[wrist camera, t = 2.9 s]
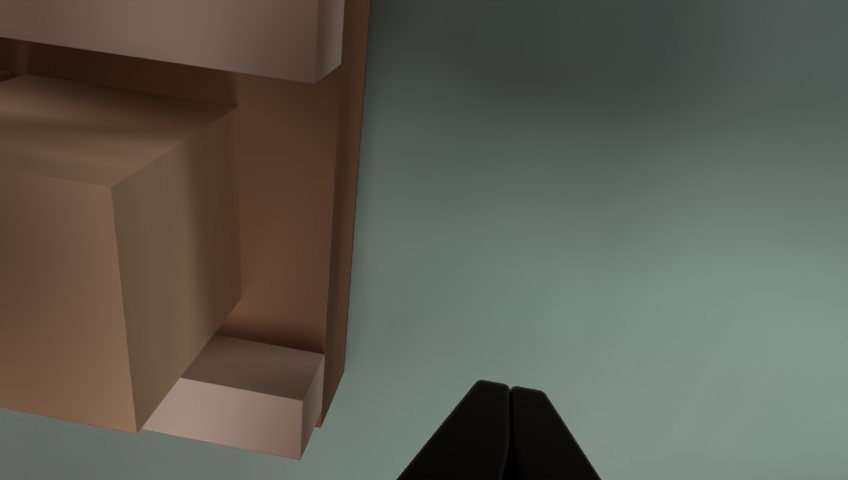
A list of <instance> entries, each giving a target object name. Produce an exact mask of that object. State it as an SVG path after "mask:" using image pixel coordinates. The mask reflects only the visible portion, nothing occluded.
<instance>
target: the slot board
mask: <svg viewBox="0 0 848 480" xmlns="http://www.w3.org/2000/svg"><path fill="white" fill-rule="evenodd" d="M369 12H370V0H0V70H3V71H9V72H12V77H13V78H15V77H19V76H22V75H25V74H30V75H36V76H43V77H50V78H56V79H63V80H69V81H76V82H82V83H89V84H95V85H102V86H108V87H115V88H121V89H128V90H134V91H141V92H147V93H154V94H160V95H167V96H173V97H180V98H186V99H193V100H199V101H206V102H212V103H219V104H226V105H232V106H238V114H239V192H240V269H241V299H240V301H239V302H238V303H237V304H236V306H235V307H234V308H233V310H232V311H231V312H230V314H229V315H228V316H227V317H226V319H225V320H224V321H223V323H222V324H221V325H220V327H219V328H218V329H217V330H216V332H215V333H214V334H213V336H212V337H211V338H210V340H209V341H208V342H207V343H206V345H205V346H204V347H203V349H202V350H201V351H200V353H199V354H198V355H197V356H196V358H195V359H194V360H193V362H192V363H191V364H190V366H189V367H188V368H187V369H186V371H185V372H184V373H183V375H182V376H181V377H180V379H179V380H178V381H177V382H176V384H175V385H174V386H173V388H172V389H171V390H170V392H169V393H168V394H167V395H166V397H165V398H164V399H163V401H162V402H161V403H160V405H159V406H158V407H157V408H156V410H155V411H154V412H153V414H152V415H151V416H150V418H149V419H148V420H147V421H146V423H145V424H144V425H143V427H142V428H141V429H144V430H149V431H154V432H160V433H165V434H170V435H175V436H180V437H185V438H190V439H195V440H200V441H205V442H210V443H215V444H221V445H226V446H231V447H236V448H241V449H246V450H251V451H256V452H261V453H266V454H271V455H277V456H282V457H287V458H292V459H297V460H301V457H302V455H303V453H304V450H305V448H306V446H307V443H308V441H309V439H310V436H311V434H312V432H313V429H314V427H319V428H321V426H322V424H323V421H324V419H325V416H326V414H327V412H328V409H329V407H330V404H331V402H332V400H333V397H334V395H335V392H336V390H337V388H338V385H339V383H340V380H341V378H342V376H343V373H344V359H345V346H346V332H347V318H348V304H349V290H350V276H351V262H352V248H353V235H354V221H355V207H356V193H357V179H358V165H359V151H360V137H361V123H362V110H363V96H364V82H365V68H366V54H367V40H368V26H369Z"/></svg>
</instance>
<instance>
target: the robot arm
mask: <svg viewBox="0 0 848 480" xmlns="http://www.w3.org/2000/svg"><path fill="white" fill-rule="evenodd" d="M397 480H601V479H600V477H599V475H598V474H597V472H596V471H595V469H594V468H593V466H592V465H591V463H590V462H589V460H588V459H587V457H586V455H585V454H584V452H583V451H582V449H581V448H580V446H579V445H578V443H577V442H576V440H575V439H574V437H573V435H572V434H571V432H570V431H569V429H568V428H567V426H566V425H565V423H564V422H563V420H562V419H561V417H560V415H559V414H558V412H557V411H556V409H555V408H554V406H553V405H552V403H551V402H550V400H549V399H548V397H547V395H546V394H545V393H544V392H542V391H540V390H535V389H530V388H524V387H519V386H514V387H512V388H511V390H510V388H509V386H507V385H506V384H502V383H497V382H491V381H486V380H479V381H477V382H476V383H475V384H474V385H473V386H472V388H471V389H470V390H469V391H468V393H467V394H466V395H465V396H464V397H463V399H462V400H461V401H460V402H459V404H458V405H457V406H456V407H455V408H454V410H453V411H452V412H451V413H450V415H449V416H448V417H447V418H446V419H445V421H444V422H443V423H442V424H441V426H440V427H439V428H438V429H437V431H436V432H435V433H434V434H433V435H432V437H431V438H430V439H429V440H428V442H427V443H426V444H425V445H424V446H423V448H422V449H421V450H420V451H419V453H418V454H417V455H416V456H415V458H414V459H413V460H412V461H411V462H410V464H409V465H408V466H407V467H406V469H405V470H404V471H403V472H402V473H401V475H400V476H399V477H398V478H397Z"/></svg>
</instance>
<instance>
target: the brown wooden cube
mask: <svg viewBox="0 0 848 480" xmlns="http://www.w3.org/2000/svg"><path fill="white" fill-rule="evenodd" d="M240 299H241V269H240V192H239V114H238V106H232V105H226V104H219V103H212V102H206V101H199V100H193V99H186V98H180V97H173V96H167V95H160V94H154V93H147V92H141V91H134V90H128V89H121V88H115V87H108V86H102V85H95V84H89V83H82V82H76V81H69V80H63V79H56V78H50V77H43V76H36V75H30V74H25V75H22V76H19V77H15V78H12V79H9V80H5V81H2V82H0V407H2V408H7V409H12V410H17V411H22V412H27V413H33V414H38V415H43V416H48V417H53V418H58V419H63V420H68V421H73V422H78V423H83V424H88V425H93V426H98V427H104V428H109V429H114V430H119V431H124V432H129V433H134V434H137V433H138V432H139V431H140V429H141V428H142V427H143V425H144V424H145V423H146V421H147V420H148V419H149V418H150V416H151V415H152V414H153V412H154V411H155V410H156V408H157V407H158V406H159V405H160V403H161V402H162V401H163V399H164V398H165V397H166V395H167V394H168V393H169V392H170V390H171V389H172V388H173V386H174V385H175V384H176V382H177V381H178V380H179V379H180V377H181V376H182V375H183V373H184V372H185V371H186V369H187V368H188V367H189V366H190V364H191V363H192V362H193V360H194V359H195V358H196V356H197V355H198V354H199V353H200V351H201V350H202V349H203V347H204V346H205V345H206V343H207V342H208V341H209V340H210V338H211V337H212V336H213V334H214V333H215V332H216V330H217V329H218V328H219V327H220V325H221V324H222V323H223V321H224V320H225V319H226V317H227V316H228V315H229V314H230V312H231V311H232V310H233V308H234V307H235V306H236V304H237V303H238V302H239V301H240Z"/></svg>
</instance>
